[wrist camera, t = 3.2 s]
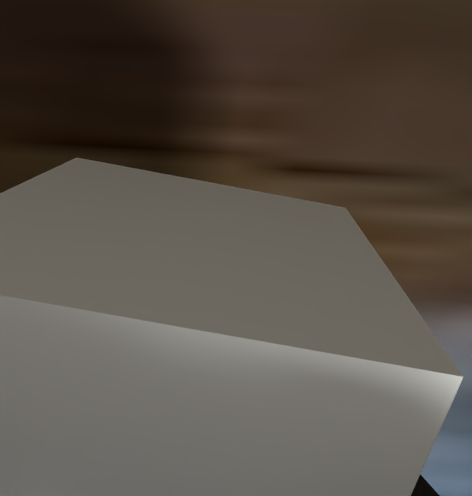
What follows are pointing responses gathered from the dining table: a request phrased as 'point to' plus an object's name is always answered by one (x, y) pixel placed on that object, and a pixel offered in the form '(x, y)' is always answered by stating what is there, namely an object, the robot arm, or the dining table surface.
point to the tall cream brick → (204, 344)
